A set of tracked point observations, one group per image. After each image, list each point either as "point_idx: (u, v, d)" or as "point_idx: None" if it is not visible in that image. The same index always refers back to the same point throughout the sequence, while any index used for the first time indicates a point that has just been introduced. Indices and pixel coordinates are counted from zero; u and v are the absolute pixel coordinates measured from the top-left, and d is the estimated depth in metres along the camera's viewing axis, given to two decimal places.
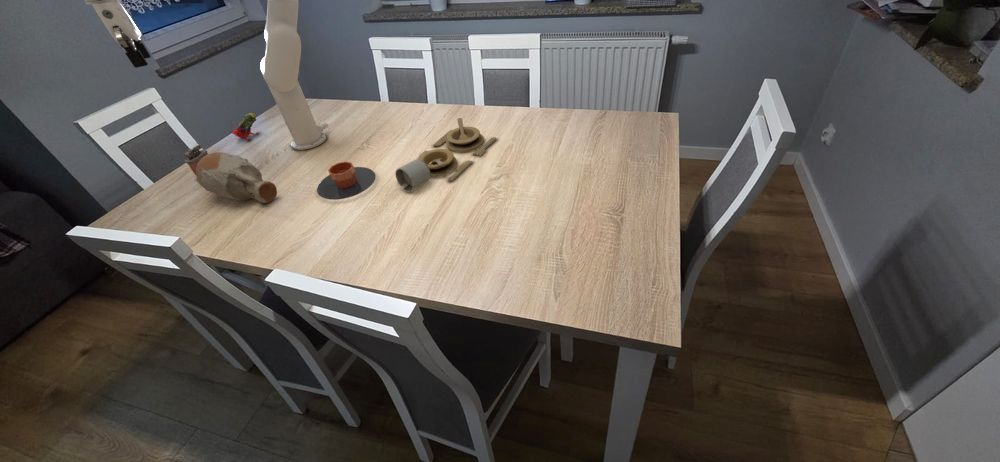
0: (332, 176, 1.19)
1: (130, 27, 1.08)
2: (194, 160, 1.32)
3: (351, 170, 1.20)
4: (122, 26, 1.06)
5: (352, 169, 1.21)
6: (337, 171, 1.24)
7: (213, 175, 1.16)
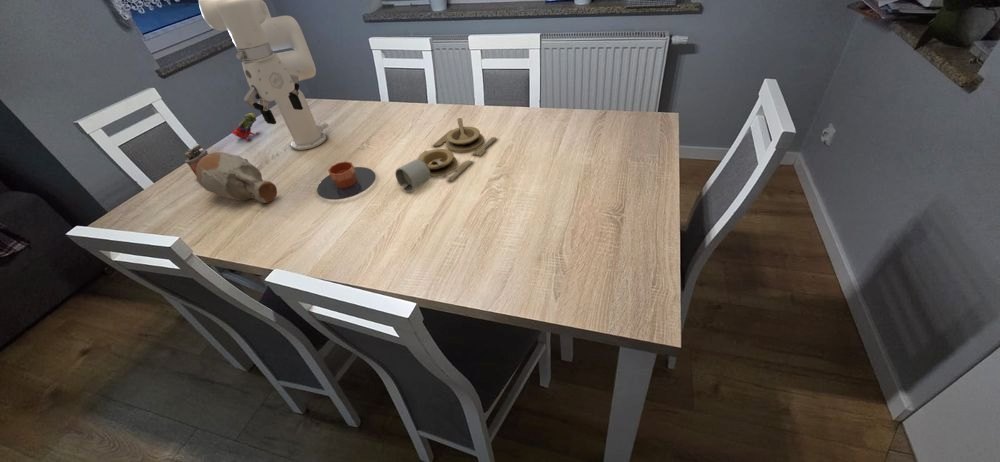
0: (332, 176, 1.19)
1: (266, 88, 1.03)
2: (194, 160, 1.32)
3: (351, 170, 1.20)
4: (257, 87, 1.03)
5: (352, 169, 1.21)
6: (337, 171, 1.24)
7: (213, 175, 1.16)
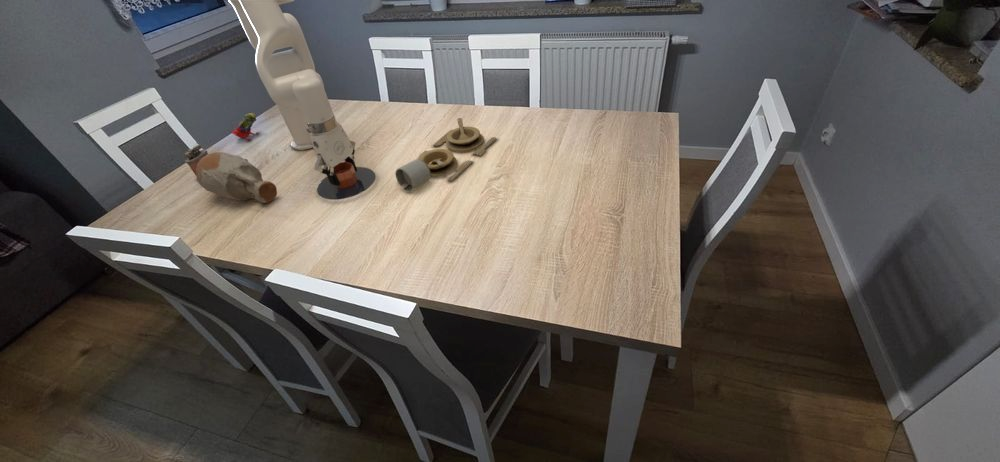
0: None
1: (331, 156, 1.13)
2: (194, 160, 1.32)
3: (351, 170, 1.20)
4: (323, 156, 1.12)
5: (352, 169, 1.21)
6: (337, 171, 1.24)
7: (213, 175, 1.16)
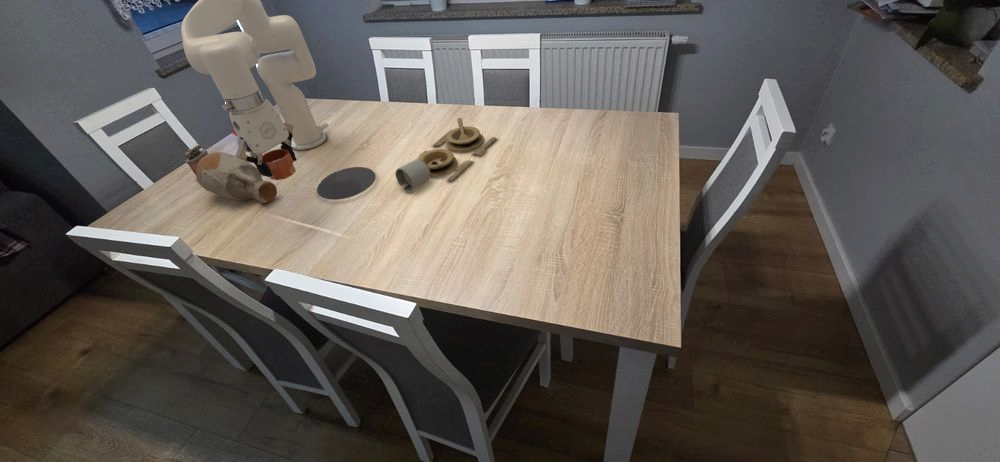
0: None
1: (256, 140, 0.93)
2: (194, 160, 1.32)
3: (287, 159, 1.00)
4: (246, 139, 0.92)
5: (288, 157, 1.00)
6: (272, 160, 1.03)
7: (213, 175, 1.16)
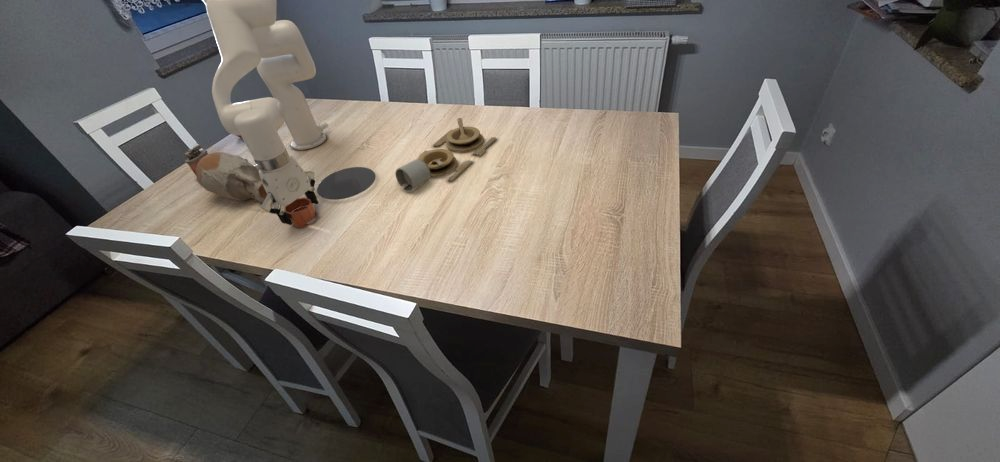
0: None
1: (283, 194, 1.02)
2: (194, 160, 1.32)
3: (309, 208, 1.09)
4: (274, 194, 1.01)
5: (310, 207, 1.09)
6: (295, 208, 1.13)
7: (213, 175, 1.16)
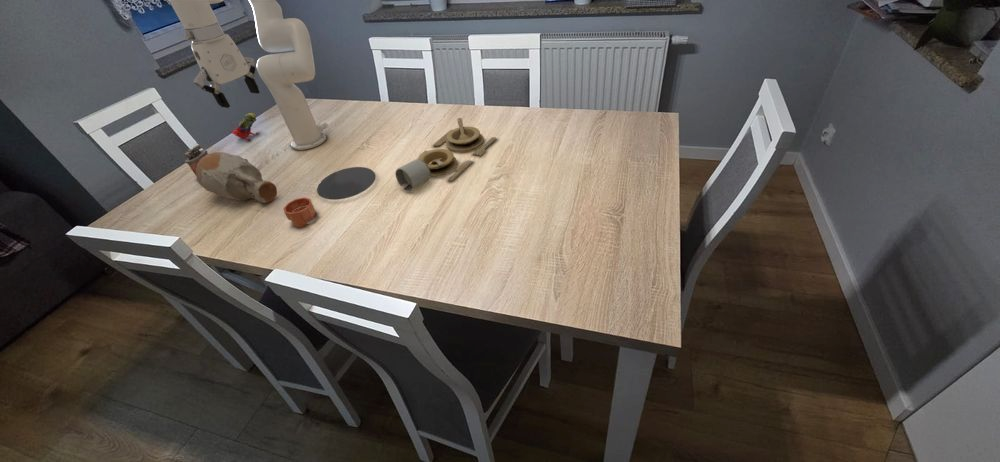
0: (287, 215, 1.08)
1: (216, 70, 1.01)
2: (194, 160, 1.32)
3: (309, 208, 1.09)
4: (207, 69, 1.00)
5: (310, 207, 1.09)
6: (295, 208, 1.13)
7: (213, 175, 1.16)
